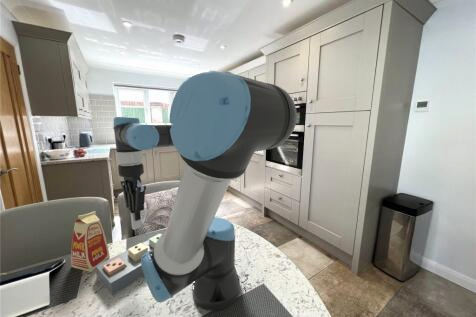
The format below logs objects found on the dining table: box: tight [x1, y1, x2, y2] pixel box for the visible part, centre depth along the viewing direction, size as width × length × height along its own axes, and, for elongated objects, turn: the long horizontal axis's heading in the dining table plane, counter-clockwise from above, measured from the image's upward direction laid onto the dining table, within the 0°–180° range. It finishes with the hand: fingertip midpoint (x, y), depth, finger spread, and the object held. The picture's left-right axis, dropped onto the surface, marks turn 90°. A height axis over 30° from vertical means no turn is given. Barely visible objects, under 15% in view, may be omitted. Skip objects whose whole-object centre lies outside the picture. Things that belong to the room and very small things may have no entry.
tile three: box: [103, 258, 126, 277], centre depth 65 cm, size 5×5×3 cm
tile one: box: [148, 233, 163, 248], centre depth 78 cm, size 5×5×3 cm
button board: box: [95, 239, 154, 297], centre depth 72 cm, size 12×23×4 cm, turn 144°
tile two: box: [127, 242, 148, 262], centre depth 71 cm, size 5×5×3 cm
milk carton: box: [70, 210, 111, 273], centre depth 73 cm, size 9×9×20 cm
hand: (136, 227), depth 70 cm, fingers closed
